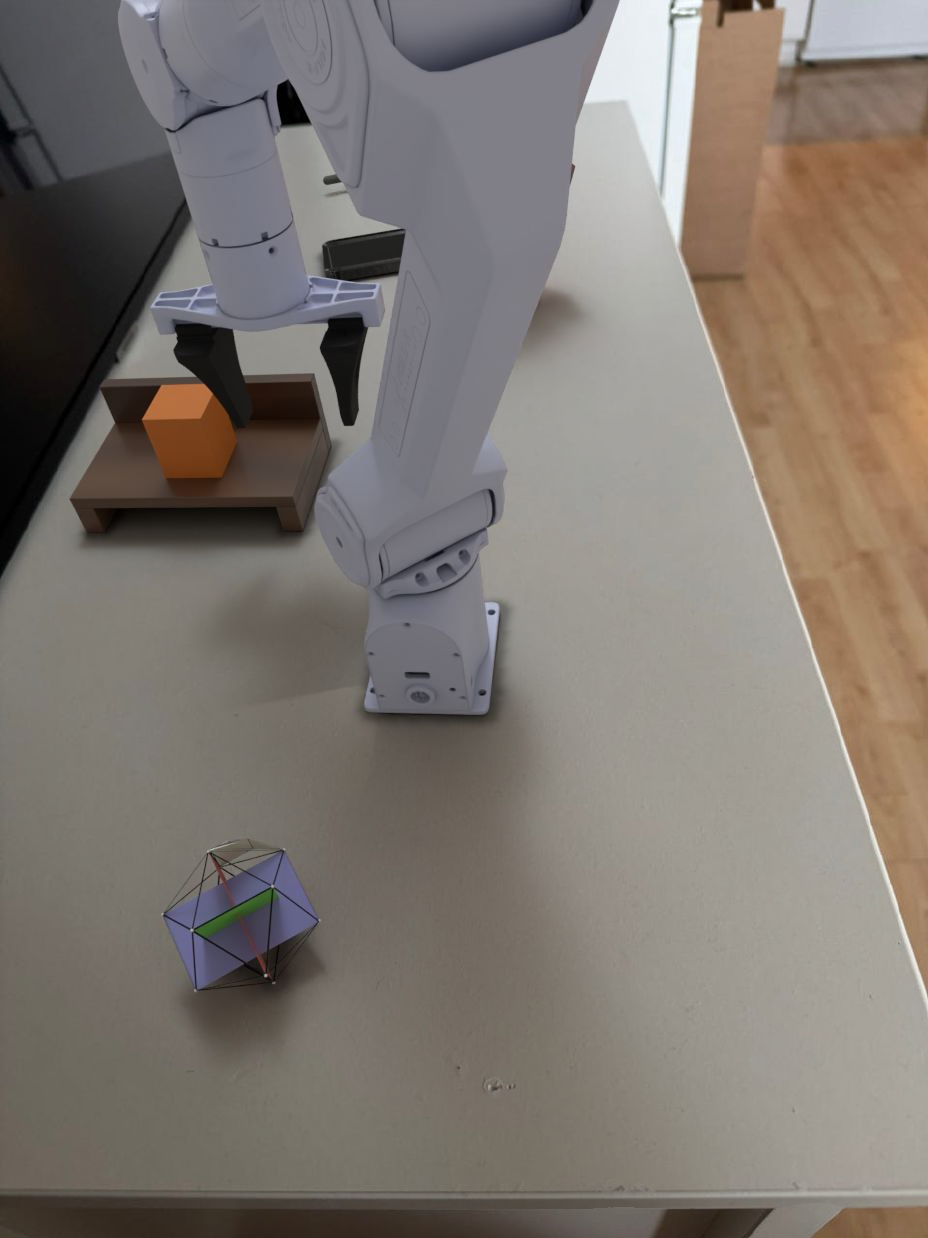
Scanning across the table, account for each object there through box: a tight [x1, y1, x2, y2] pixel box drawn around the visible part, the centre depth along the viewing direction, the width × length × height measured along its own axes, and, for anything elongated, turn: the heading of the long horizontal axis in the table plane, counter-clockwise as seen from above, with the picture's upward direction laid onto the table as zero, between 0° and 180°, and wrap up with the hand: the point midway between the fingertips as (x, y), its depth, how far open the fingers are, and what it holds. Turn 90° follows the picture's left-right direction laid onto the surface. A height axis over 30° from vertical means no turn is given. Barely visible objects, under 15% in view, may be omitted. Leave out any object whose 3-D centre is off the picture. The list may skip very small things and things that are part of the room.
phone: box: [321, 228, 406, 281], centre depth 103 cm, size 8×1×15 cm
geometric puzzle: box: [160, 838, 322, 993], centre depth 48 cm, size 7×7×8 cm
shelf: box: [69, 372, 332, 533], centre depth 76 cm, size 11×18×7 cm, turn 84°
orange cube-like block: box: [142, 384, 237, 478], centre depth 73 cm, size 5×5×6 cm
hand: (297, 418), depth 66 cm, fingers open, 7 cm apart
